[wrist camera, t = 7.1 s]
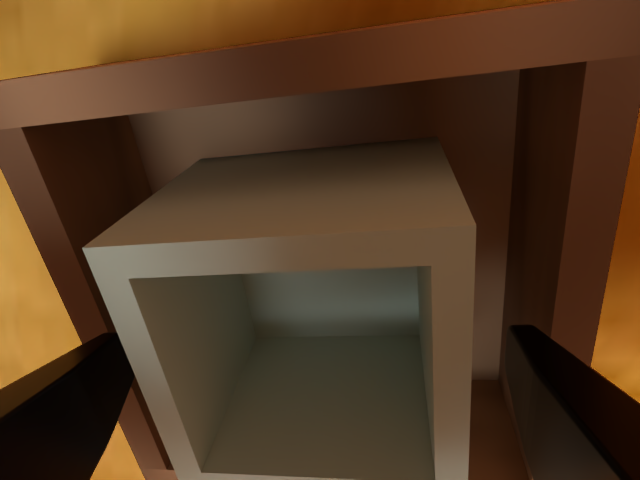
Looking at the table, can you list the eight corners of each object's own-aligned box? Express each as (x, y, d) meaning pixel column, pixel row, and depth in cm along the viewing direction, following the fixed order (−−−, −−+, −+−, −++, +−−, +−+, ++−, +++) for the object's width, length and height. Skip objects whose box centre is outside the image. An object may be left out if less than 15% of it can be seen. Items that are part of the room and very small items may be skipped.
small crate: (246, 340, 14) (182, 489, 10) (200, 158, 11) (82, 248, 7) (439, 337, 13) (467, 504, 8) (437, 136, 10) (476, 225, 6)
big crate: (201, 383, 16) (148, 486, 12) (96, 65, 11) (-38, 86, 8) (519, 385, 14) (563, 508, 10) (556, 0, 9) (662, -11, 6)
